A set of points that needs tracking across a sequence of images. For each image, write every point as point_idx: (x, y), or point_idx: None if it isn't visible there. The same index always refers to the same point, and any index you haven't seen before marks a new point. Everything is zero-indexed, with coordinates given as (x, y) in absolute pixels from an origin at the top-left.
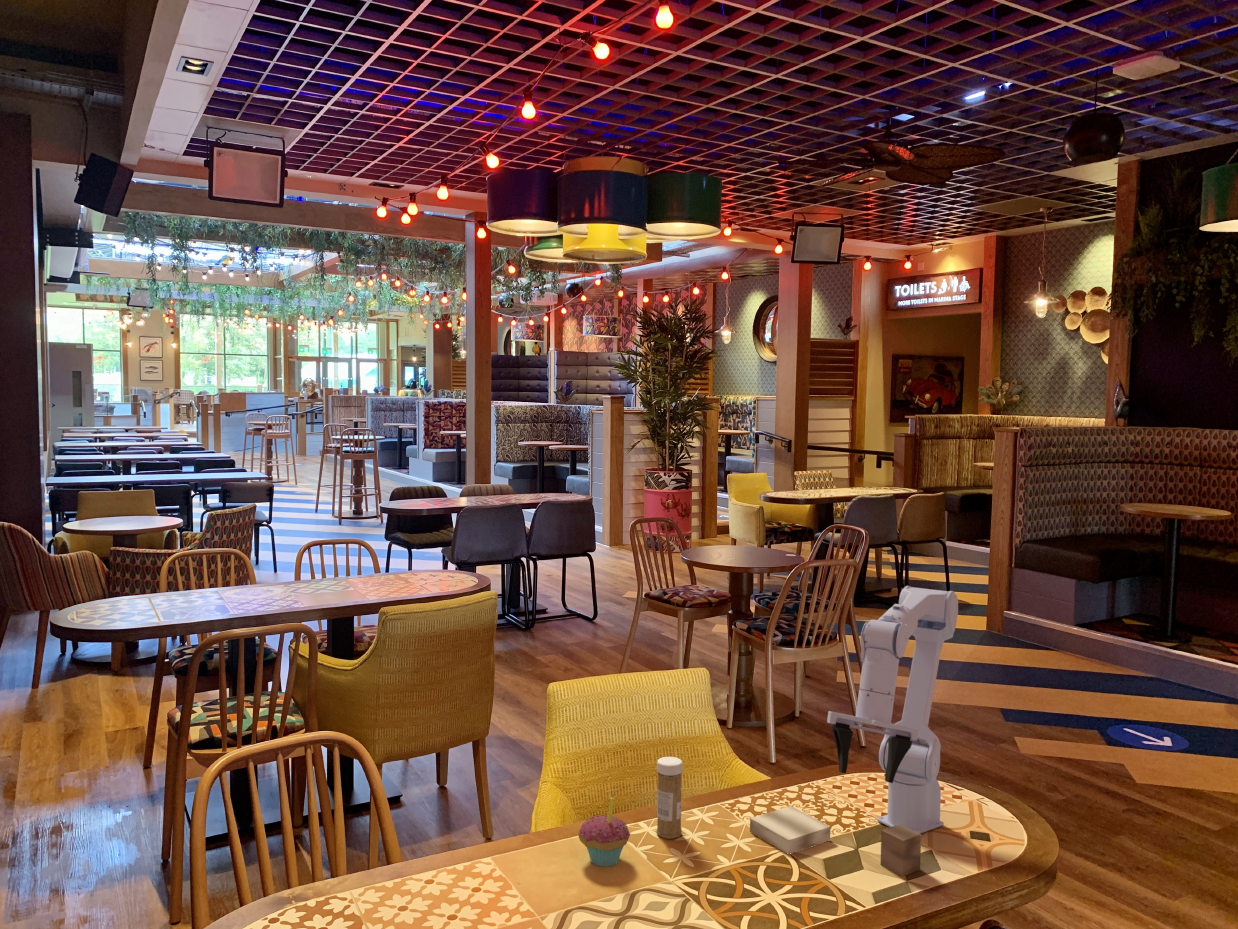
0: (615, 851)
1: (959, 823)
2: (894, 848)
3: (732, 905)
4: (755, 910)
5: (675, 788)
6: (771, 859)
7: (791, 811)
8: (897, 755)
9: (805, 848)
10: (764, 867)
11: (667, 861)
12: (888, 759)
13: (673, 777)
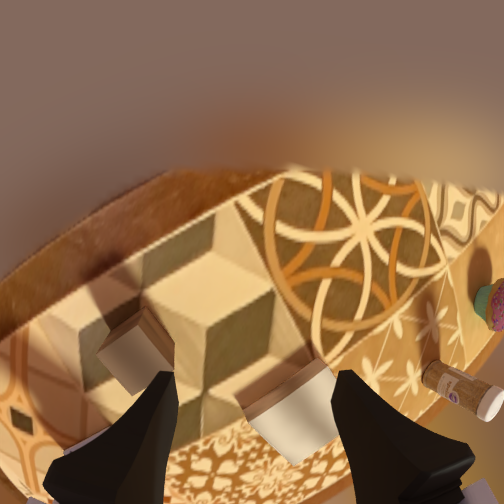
0: (489, 289)
1: (45, 453)
2: (153, 334)
3: (404, 208)
4: (383, 195)
5: (474, 385)
6: (343, 338)
7: (297, 452)
8: (130, 440)
9: (288, 379)
10: (357, 313)
11: (445, 308)
12: (164, 465)
13: (487, 388)
